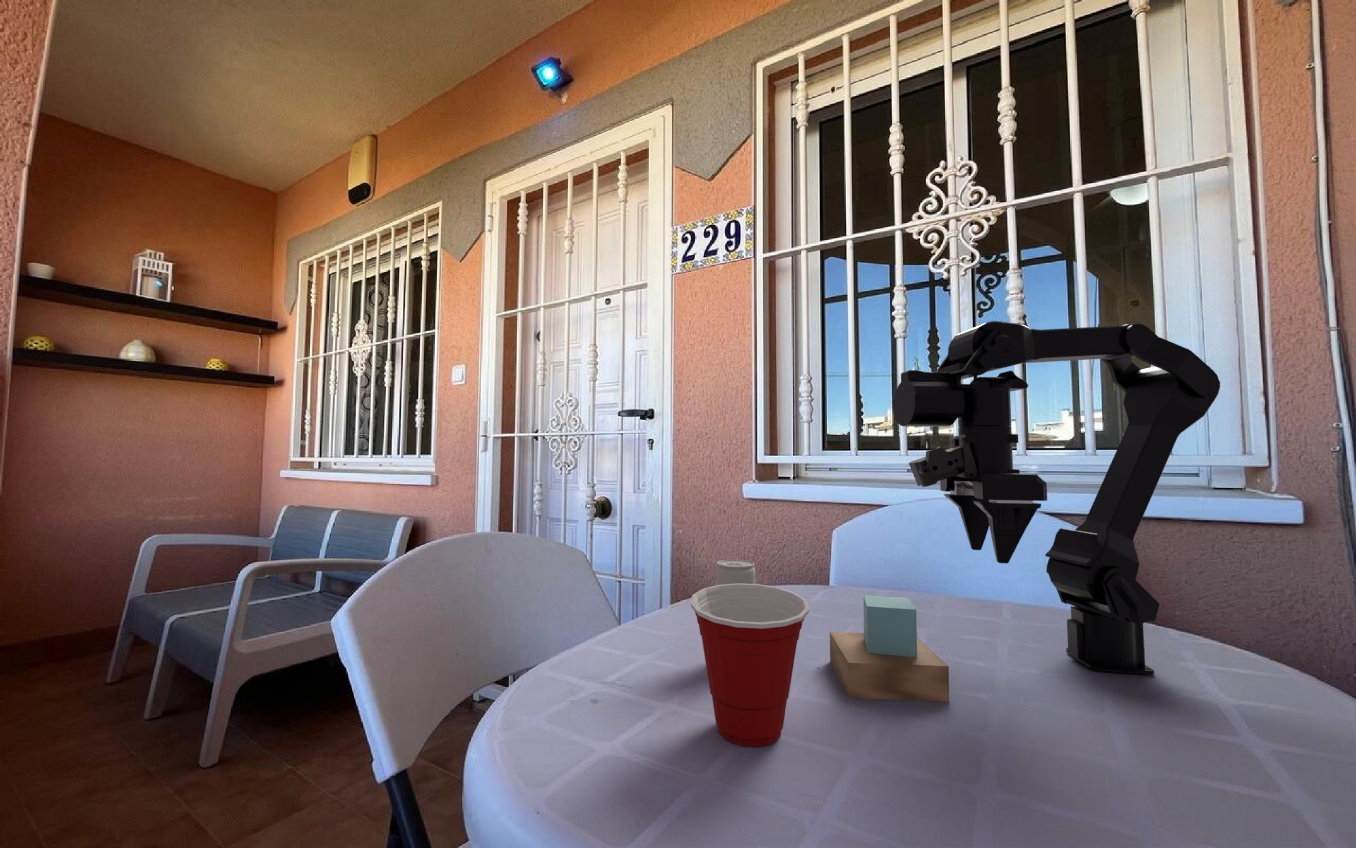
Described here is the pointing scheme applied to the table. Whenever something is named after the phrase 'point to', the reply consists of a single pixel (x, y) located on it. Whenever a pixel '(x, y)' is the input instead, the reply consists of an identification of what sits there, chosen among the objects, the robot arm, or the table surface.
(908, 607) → the teal cube
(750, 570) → the beverage can
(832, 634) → the light brown wooden block
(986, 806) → the table surface
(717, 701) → the plastic cup
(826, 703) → the table surface
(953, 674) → the table surface
